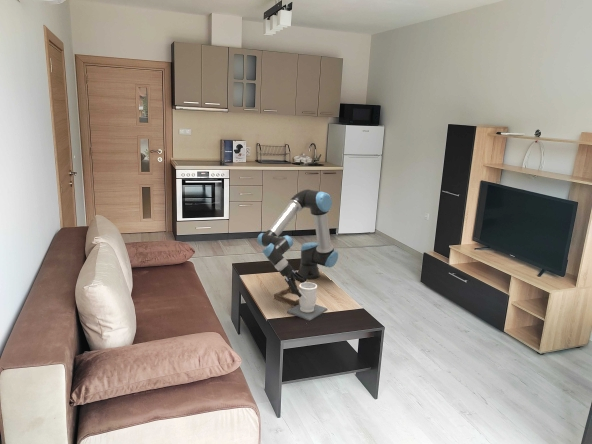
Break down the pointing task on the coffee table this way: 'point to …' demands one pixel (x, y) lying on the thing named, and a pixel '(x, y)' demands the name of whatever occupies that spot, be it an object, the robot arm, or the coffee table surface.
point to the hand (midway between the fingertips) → (308, 295)
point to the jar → (308, 296)
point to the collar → (280, 297)
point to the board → (307, 316)
